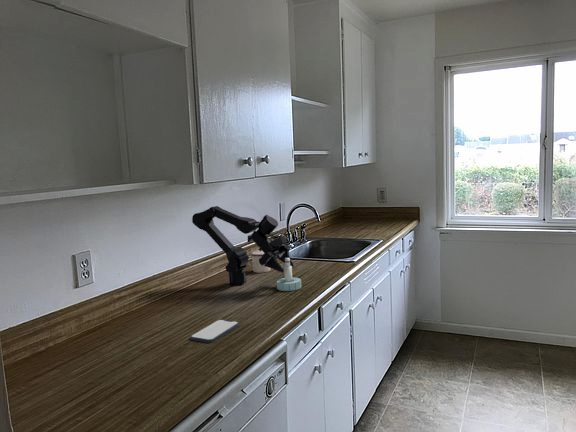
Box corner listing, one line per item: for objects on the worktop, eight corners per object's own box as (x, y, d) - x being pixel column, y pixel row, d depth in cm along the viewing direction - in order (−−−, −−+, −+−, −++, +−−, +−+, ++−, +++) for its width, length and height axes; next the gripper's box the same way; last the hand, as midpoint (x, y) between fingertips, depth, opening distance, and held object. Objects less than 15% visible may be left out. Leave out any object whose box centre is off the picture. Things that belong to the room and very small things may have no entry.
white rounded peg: (283, 287, 200) (281, 258, 198) (289, 286, 202) (287, 257, 200) (288, 289, 197) (286, 259, 196) (294, 287, 199) (292, 258, 198)
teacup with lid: (273, 268, 235) (271, 245, 234) (267, 273, 227) (266, 249, 225) (250, 268, 239) (249, 245, 237) (244, 272, 230) (242, 249, 228)
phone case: (211, 345, 144) (241, 326, 158) (211, 340, 144) (240, 321, 157) (188, 341, 148) (219, 323, 162) (188, 336, 148) (218, 318, 162)
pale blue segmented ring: (274, 290, 196) (274, 283, 195) (280, 284, 205) (280, 277, 205) (298, 291, 193) (297, 283, 193) (303, 284, 203) (302, 277, 203)
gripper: (263, 233, 190) (289, 261, 187) (284, 225, 207) (309, 251, 203) (248, 251, 195) (273, 279, 191) (269, 243, 211) (293, 268, 208)
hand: (288, 269), depth 198 cm, fingers open, 9 cm apart
